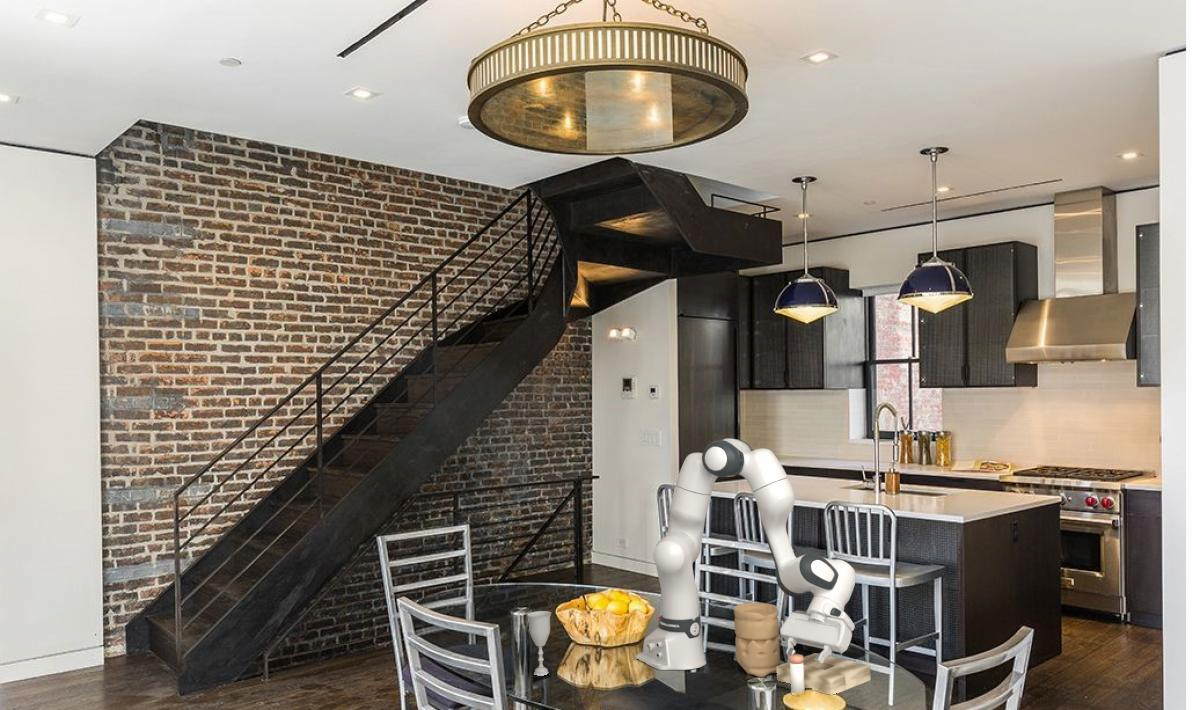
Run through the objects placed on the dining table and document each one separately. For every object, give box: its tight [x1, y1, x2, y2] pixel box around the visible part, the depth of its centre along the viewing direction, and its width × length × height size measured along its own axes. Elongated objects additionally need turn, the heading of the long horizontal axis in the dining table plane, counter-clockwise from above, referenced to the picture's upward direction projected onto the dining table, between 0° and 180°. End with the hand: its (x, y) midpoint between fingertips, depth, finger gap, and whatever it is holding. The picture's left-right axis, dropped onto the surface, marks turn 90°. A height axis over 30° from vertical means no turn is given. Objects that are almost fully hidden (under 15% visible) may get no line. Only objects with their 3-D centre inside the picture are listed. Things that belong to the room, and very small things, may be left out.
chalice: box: [527, 610, 552, 676], centre depth 261 cm, size 7×7×18 cm
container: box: [733, 602, 781, 678], centre depth 260 cm, size 13×13×18 cm
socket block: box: [776, 652, 872, 695], centre depth 248 cm, size 18×18×4 cm
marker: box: [788, 653, 806, 694], centre depth 237 cm, size 4×4×10 cm
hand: (803, 658), depth 240 cm, fingers open, 8 cm apart
